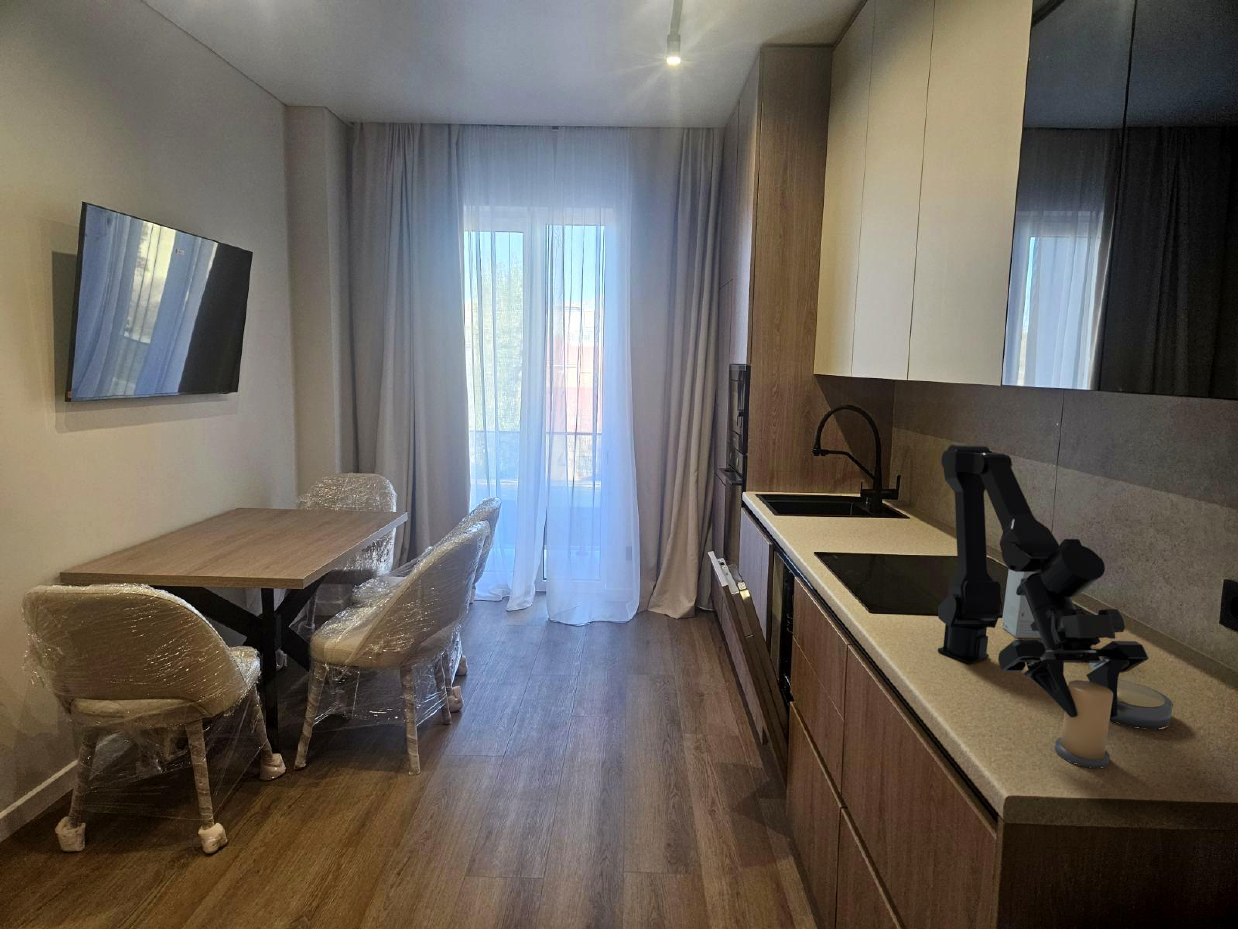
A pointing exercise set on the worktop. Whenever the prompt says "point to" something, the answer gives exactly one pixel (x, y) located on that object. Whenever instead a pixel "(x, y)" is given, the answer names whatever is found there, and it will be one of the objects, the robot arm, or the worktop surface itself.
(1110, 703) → the tan rounded stopper
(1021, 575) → the skincare box
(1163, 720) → the grey round disc
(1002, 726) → the worktop surface
